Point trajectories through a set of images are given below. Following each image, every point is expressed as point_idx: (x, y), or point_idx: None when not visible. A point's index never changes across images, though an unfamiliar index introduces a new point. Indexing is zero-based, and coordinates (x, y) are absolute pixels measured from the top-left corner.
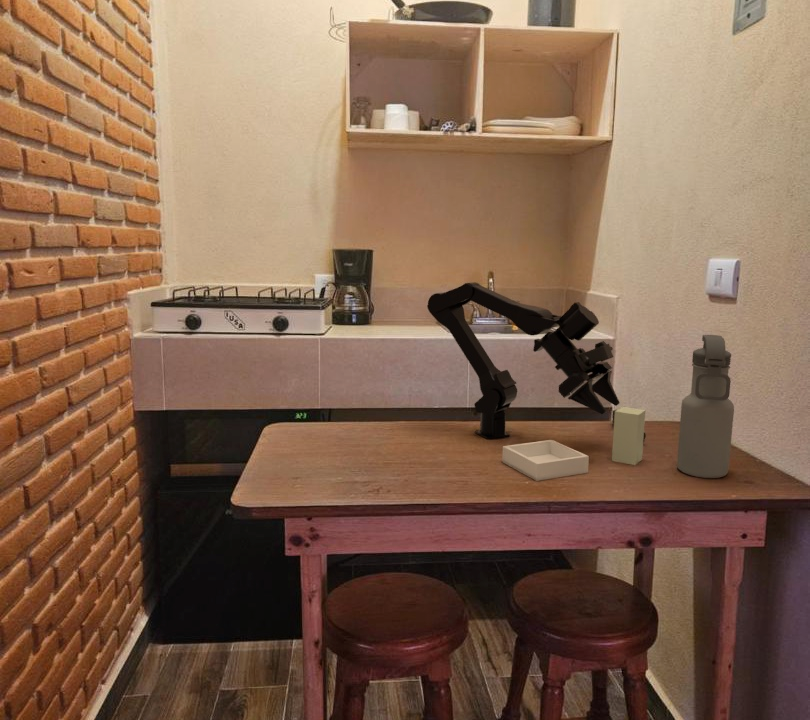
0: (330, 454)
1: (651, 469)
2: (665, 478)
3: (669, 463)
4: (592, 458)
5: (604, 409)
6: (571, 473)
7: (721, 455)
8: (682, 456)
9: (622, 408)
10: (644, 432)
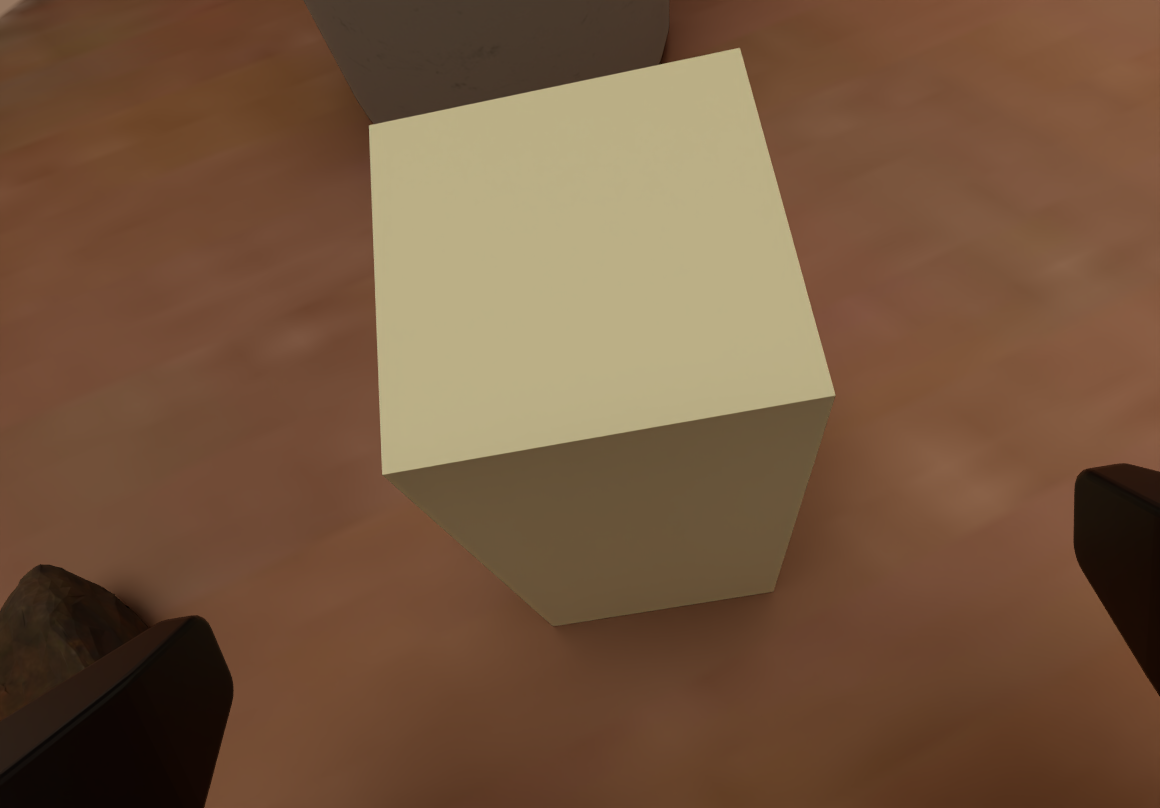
0: None
1: None
2: (842, 120)
3: None
4: (859, 778)
5: (1137, 474)
6: None
7: None
8: (636, 9)
9: (509, 407)
10: (27, 573)
